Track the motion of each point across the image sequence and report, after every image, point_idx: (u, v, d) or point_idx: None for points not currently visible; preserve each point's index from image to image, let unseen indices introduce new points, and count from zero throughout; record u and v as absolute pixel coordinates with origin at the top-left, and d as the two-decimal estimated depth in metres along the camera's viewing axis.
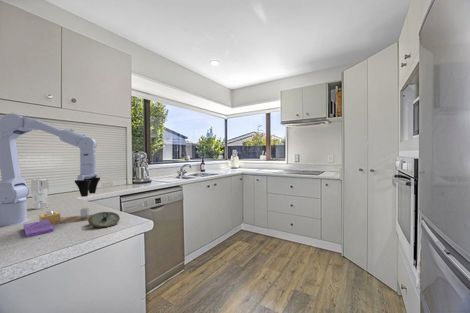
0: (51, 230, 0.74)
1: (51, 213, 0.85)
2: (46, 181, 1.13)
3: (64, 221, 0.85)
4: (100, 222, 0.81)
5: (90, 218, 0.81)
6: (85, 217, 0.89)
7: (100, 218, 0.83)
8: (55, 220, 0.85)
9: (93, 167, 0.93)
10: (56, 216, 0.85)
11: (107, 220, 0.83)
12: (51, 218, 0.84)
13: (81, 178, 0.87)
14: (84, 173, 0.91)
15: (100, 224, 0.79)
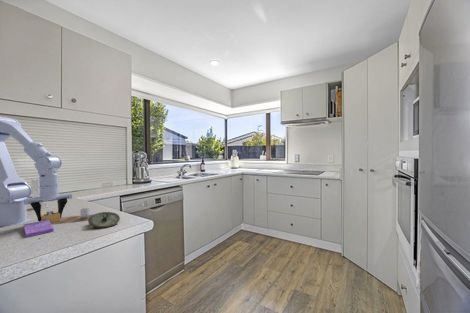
0: (51, 230, 0.74)
1: (51, 213, 0.85)
2: None
3: (64, 221, 0.85)
4: (100, 222, 0.81)
5: (90, 218, 0.80)
6: (85, 217, 0.89)
7: (100, 218, 0.83)
8: (55, 220, 0.85)
9: (46, 190, 0.83)
10: (56, 216, 0.85)
11: (107, 220, 0.83)
12: (51, 218, 0.84)
13: (24, 202, 0.80)
14: None
15: (100, 224, 0.79)
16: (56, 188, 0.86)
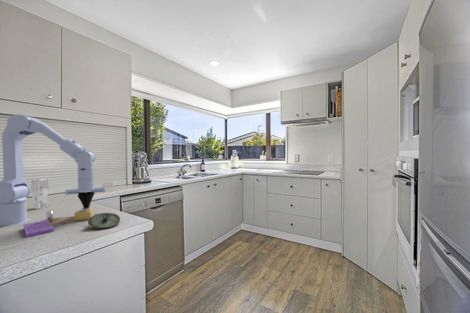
0: (51, 230, 0.74)
1: (51, 213, 0.85)
2: (46, 181, 1.13)
3: (64, 221, 0.85)
4: (100, 223, 0.79)
5: (90, 219, 0.79)
6: None
7: (100, 219, 0.81)
8: (86, 218, 0.87)
9: (80, 182, 0.89)
10: (87, 214, 0.88)
11: (107, 221, 0.81)
12: (82, 215, 0.87)
13: None
14: None
15: (100, 225, 0.78)
16: (89, 181, 0.91)
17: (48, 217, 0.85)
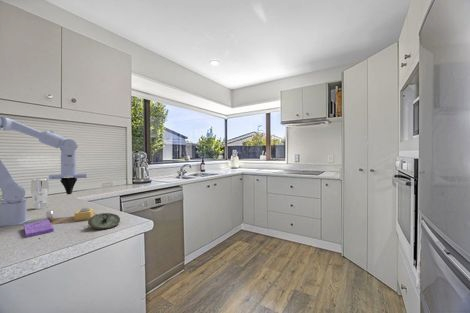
0: (51, 230, 0.74)
1: (51, 213, 0.85)
2: (46, 181, 1.13)
3: (64, 221, 0.85)
4: (100, 223, 0.79)
5: (90, 220, 0.79)
6: None
7: (100, 220, 0.81)
8: (86, 218, 0.87)
9: (63, 168, 0.96)
10: (87, 214, 0.88)
11: (107, 221, 0.81)
12: (82, 215, 0.87)
13: None
14: None
15: (100, 226, 0.77)
16: (72, 167, 0.97)
17: (48, 217, 0.85)
